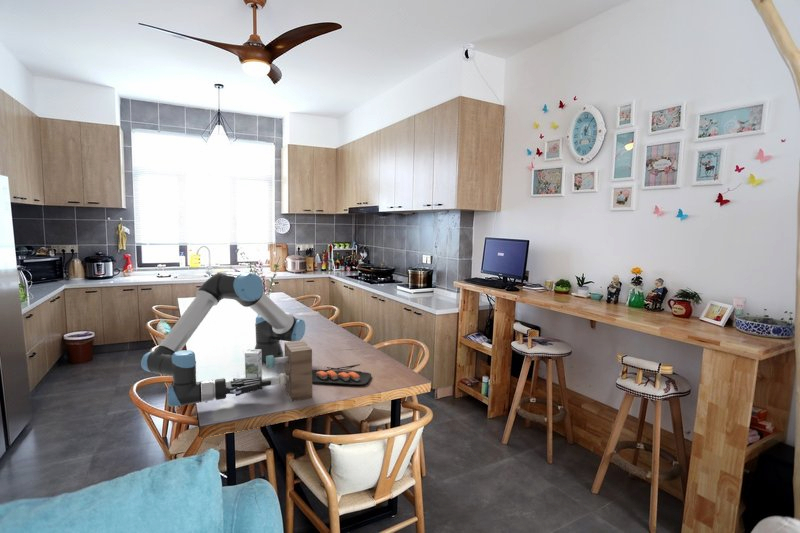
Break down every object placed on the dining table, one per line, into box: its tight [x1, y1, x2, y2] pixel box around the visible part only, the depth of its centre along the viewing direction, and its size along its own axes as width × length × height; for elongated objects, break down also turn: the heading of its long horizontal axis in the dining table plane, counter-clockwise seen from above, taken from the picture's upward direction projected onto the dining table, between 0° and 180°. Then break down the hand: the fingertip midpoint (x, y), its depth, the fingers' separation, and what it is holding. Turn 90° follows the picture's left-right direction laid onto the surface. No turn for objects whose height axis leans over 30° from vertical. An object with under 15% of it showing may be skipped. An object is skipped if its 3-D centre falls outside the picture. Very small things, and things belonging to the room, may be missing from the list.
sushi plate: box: [312, 363, 372, 386], centre depth 194 cm, size 29×30×4 cm
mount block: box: [284, 339, 313, 402], centre depth 169 cm, size 14×8×20 cm, turn 26°
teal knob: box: [265, 355, 289, 368], centre depth 166 cm, size 5×10×5 cm, turn 116°
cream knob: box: [277, 372, 289, 386], centre depth 169 cm, size 5×10×5 cm, turn 116°
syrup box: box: [244, 348, 263, 380], centre depth 180 cm, size 6×6×14 cm
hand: (278, 380), depth 166 cm, fingers closed
